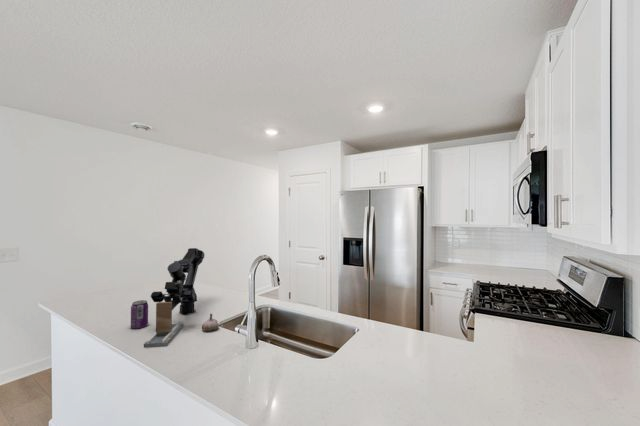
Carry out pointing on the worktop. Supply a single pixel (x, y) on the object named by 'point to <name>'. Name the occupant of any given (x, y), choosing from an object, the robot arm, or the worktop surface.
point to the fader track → (164, 337)
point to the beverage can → (139, 314)
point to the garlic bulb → (210, 324)
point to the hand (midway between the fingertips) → (168, 312)
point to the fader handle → (163, 318)
